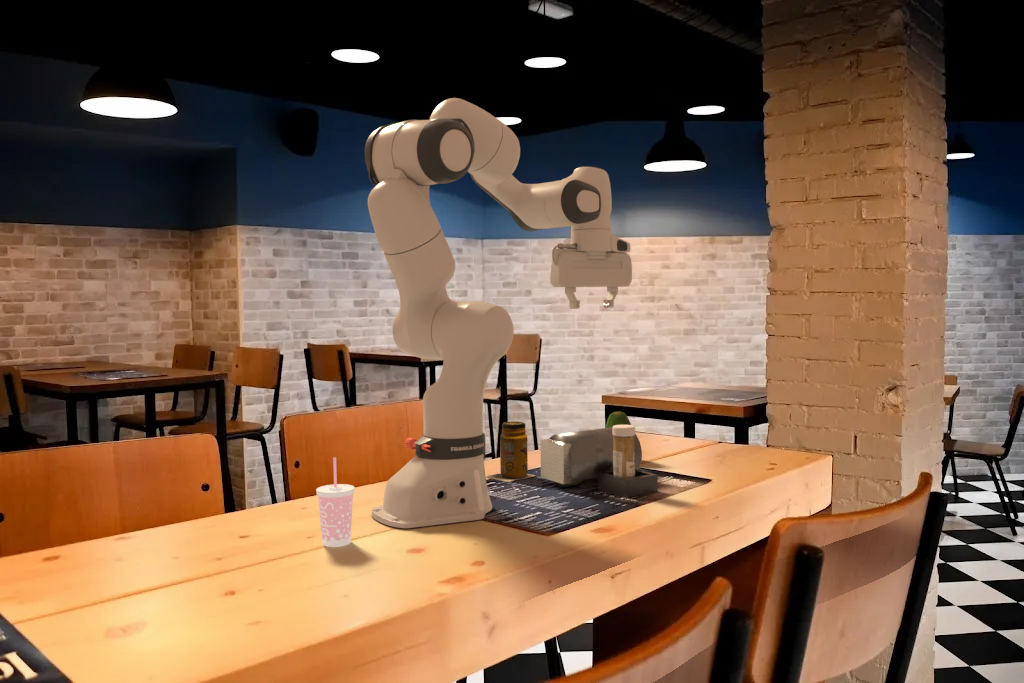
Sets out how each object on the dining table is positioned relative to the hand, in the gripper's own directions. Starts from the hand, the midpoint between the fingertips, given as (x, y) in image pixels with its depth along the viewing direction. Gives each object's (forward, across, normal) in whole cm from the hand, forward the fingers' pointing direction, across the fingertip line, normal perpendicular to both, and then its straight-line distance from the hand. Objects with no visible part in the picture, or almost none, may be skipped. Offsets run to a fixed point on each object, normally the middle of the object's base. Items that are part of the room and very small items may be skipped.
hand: (592, 308), depth 177 cm
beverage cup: (+37, -64, -13) cm, 75 cm away
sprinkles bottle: (+37, -3, -14) cm, 40 cm away
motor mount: (+37, -2, -8) cm, 38 cm away
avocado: (+37, +17, +10) cm, 42 cm away
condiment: (+37, -14, +11) cm, 42 cm away
